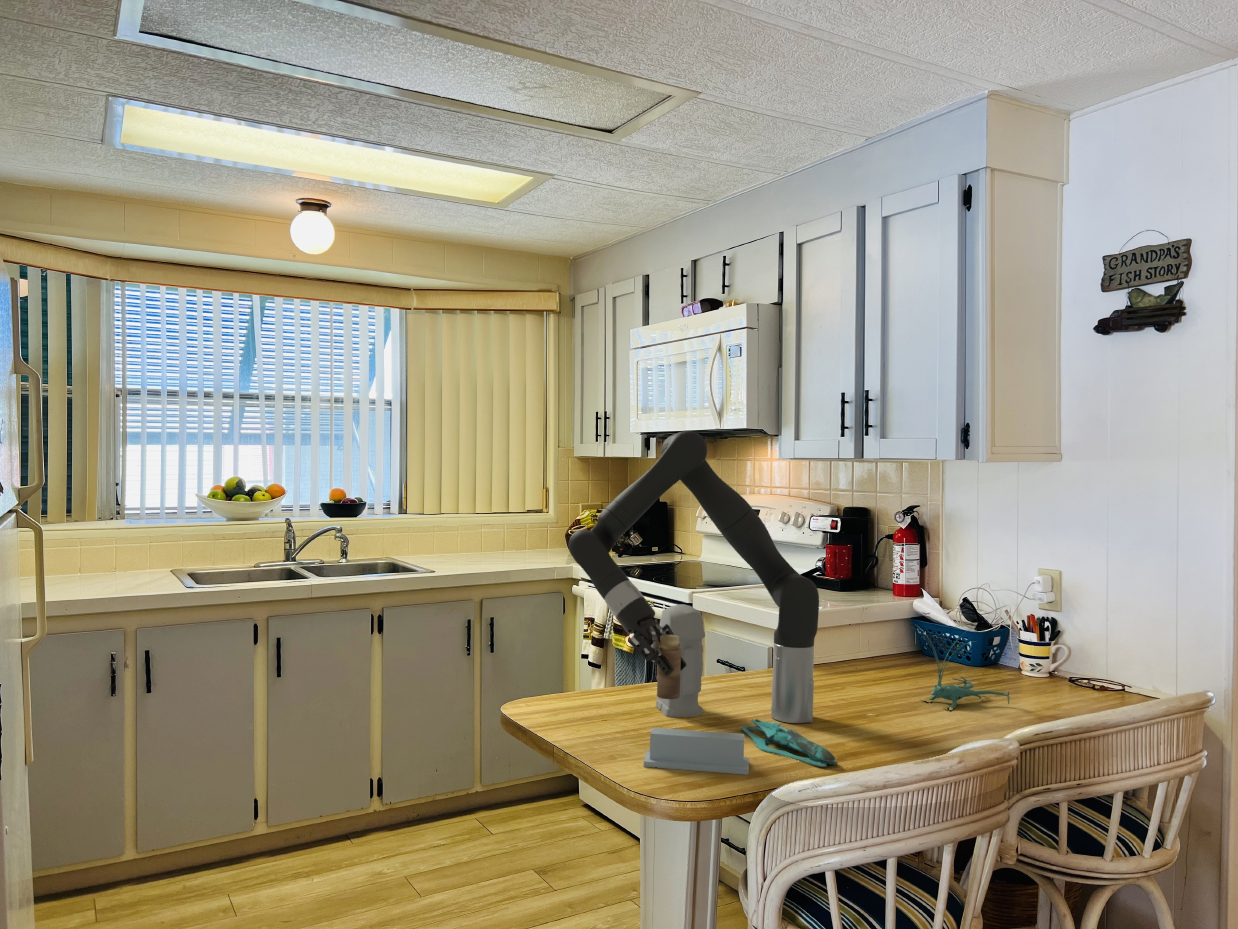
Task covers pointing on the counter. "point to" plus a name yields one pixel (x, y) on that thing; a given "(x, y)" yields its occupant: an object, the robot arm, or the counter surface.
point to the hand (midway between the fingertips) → (676, 670)
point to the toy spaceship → (789, 743)
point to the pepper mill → (671, 684)
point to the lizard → (956, 691)
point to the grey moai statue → (690, 634)
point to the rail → (697, 751)
